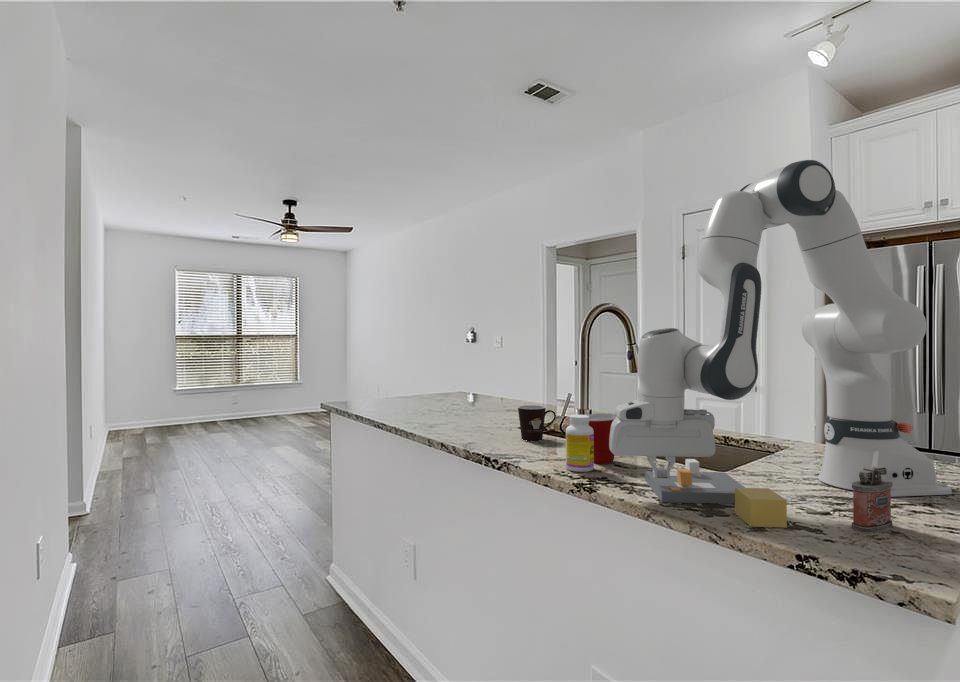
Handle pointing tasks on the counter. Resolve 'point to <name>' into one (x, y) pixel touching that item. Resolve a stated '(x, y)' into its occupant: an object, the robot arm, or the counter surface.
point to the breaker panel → (695, 488)
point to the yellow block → (761, 507)
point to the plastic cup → (602, 436)
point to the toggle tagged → (684, 476)
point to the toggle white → (692, 465)
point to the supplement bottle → (579, 444)
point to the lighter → (872, 501)
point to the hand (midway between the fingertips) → (661, 477)
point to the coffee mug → (533, 421)
